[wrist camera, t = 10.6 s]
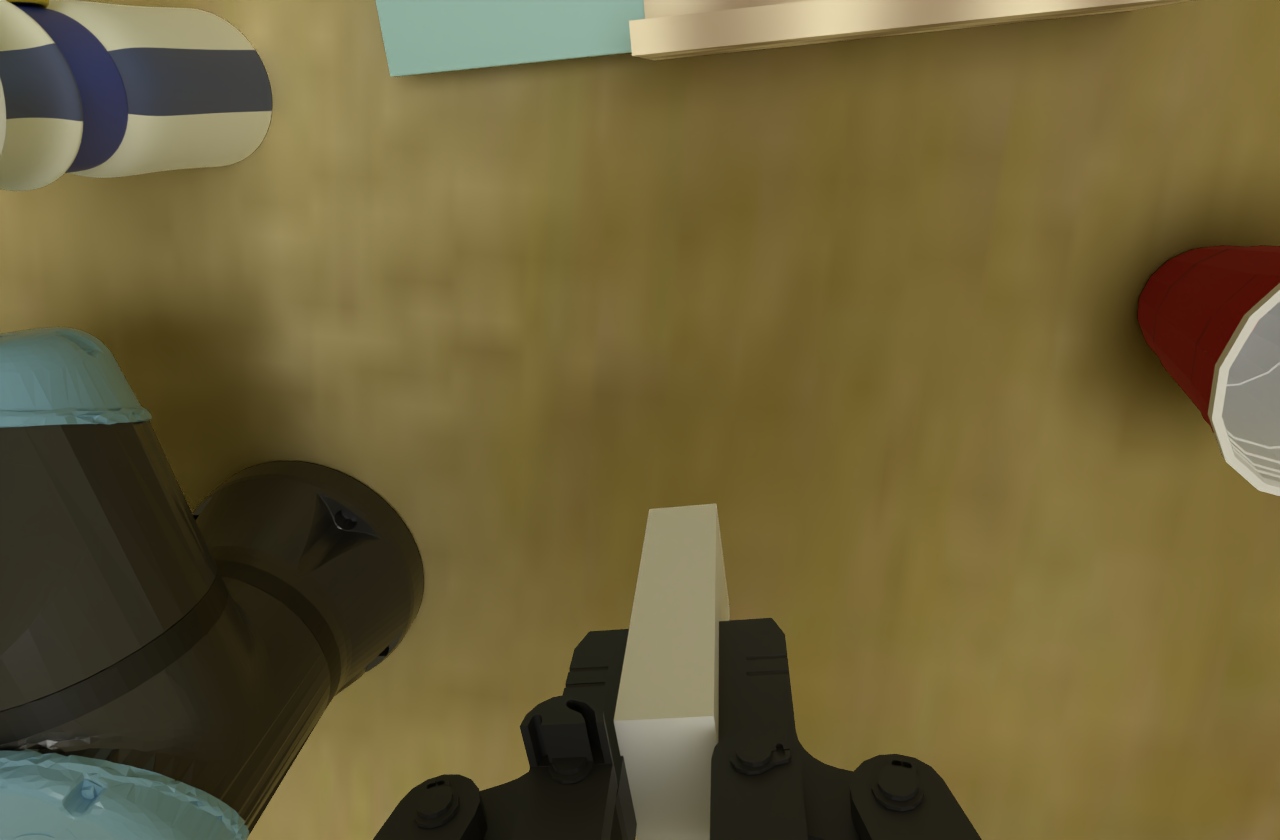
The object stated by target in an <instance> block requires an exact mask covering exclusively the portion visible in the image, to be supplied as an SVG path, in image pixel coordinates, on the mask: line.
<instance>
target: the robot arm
mask: <svg viewBox="0 0 1280 840" xmlns="http://www.w3.org/2000/svg"><path fill="white" fill-rule="evenodd" d="M151 419H152V416H151V414H150V412H149V411H148V409H146V408H143V407H141V405H140V403H139V401H138V400H137V398H136V396H135V394H134V393H133V391H132V389H131V387H130V386H129V384H128V382H127V380H126V378H125V377H124V375H123V373H122V371H121V369H120V367H119V365H118V363H117V362H116V360H115V358H114V356H113V354H112V353H111V351H110V350H109V349H108V348H107V347H106V345H105V344H104V343H103V342H101V341H100V340H99V339H97V338H96V337H94V336H93V335H91V334H89V333H86V332H84V331H81V330H78V329H74V328H69V327H46V328H37V329H29V330H21V331H15V332H8V333H1V334H0V840H247V838H248V836H249V834H250V833H251V831H252V829H253V828H254V826H255V825H256V823H257V821H258V820H259V818H260V816H261V815H262V813H263V811H264V810H265V808H266V806H267V805H268V803H269V801H270V800H271V798H272V796H273V795H274V793H275V792H276V790H277V788H278V787H279V785H280V783H281V782H282V780H283V778H284V777H285V775H286V773H287V772H288V770H289V768H290V767H291V765H292V763H293V762H294V760H295V759H296V757H297V755H298V754H299V752H300V750H301V749H302V747H303V745H304V744H305V742H306V740H307V739H308V737H309V735H310V734H311V732H312V731H313V729H314V727H315V726H316V724H317V722H318V721H319V719H320V717H321V716H322V714H323V712H324V711H325V709H326V708H327V706H328V705H329V703H330V702H331V700H332V698H333V697H334V696H335V695H337V694H338V693H339V692H341V691H342V690H344V689H345V688H346V687H348V686H349V685H350V684H352V683H353V682H354V681H356V680H357V679H358V678H360V677H361V676H362V675H363V674H364V673H365V672H367V671H369V670H370V669H372V668H373V667H375V666H376V665H378V664H379V663H381V662H382V661H383V660H384V659H386V658H387V657H388V656H389V655H390V654H391V653H392V652H393V651H394V650H395V648H396V647H397V646H398V645H399V643H400V642H401V641H402V639H403V638H404V636H405V634H406V632H407V631H408V629H409V627H410V626H411V624H412V622H413V620H414V619H415V617H416V615H417V613H418V610H419V608H420V605H421V601H422V596H423V588H424V576H423V568H422V562H421V558H420V555H419V552H418V549H417V546H416V544H415V542H414V540H413V538H412V536H411V534H410V532H409V530H408V529H407V527H406V526H405V524H404V523H403V521H402V520H401V519H400V517H399V516H398V515H397V514H396V512H395V511H394V510H393V509H392V508H391V507H390V506H389V505H388V504H387V503H386V502H385V501H384V500H383V499H382V498H381V497H379V496H378V495H377V494H376V493H375V492H373V491H372V490H370V489H369V488H368V487H366V486H365V485H363V484H362V483H360V482H358V481H357V480H355V479H353V478H351V477H349V476H347V475H345V474H343V473H340V472H338V471H336V470H333V469H330V468H327V467H324V466H320V465H316V464H311V463H305V462H295V461H278V462H269V463H264V464H260V465H256V466H253V467H250V468H247V469H245V470H243V471H241V472H239V473H237V474H235V475H234V476H232V477H231V478H229V479H228V480H227V481H225V482H224V483H223V484H222V485H220V486H219V487H218V488H217V489H216V490H214V491H213V492H212V493H211V494H209V495H208V496H207V497H206V498H205V499H204V500H203V501H202V502H201V503H200V504H199V506H198V507H197V508H196V509H195V510H194V512H193V513H191V510H190V508H189V506H188V504H187V502H186V500H185V498H184V496H183V493H182V491H181V489H180V487H179V485H178V482H177V480H176V478H175V476H174V474H173V471H172V469H171V467H170V465H169V463H168V461H167V458H166V456H165V454H164V452H163V450H162V447H161V445H160V443H159V441H158V439H157V437H156V434H155V432H154V430H153V428H152V426H151V423H150V421H149V420H151ZM520 729H521V733H522V737H523V741H524V745H525V749H526V753H527V757H528V761H529V765H530V770H529V772H528V773H526V774H525V775H523V776H521V777H520V778H518V779H515V780H513V781H510V782H508V783H505V784H502V785H499V786H495V787H492V788H489V789H486V790H483V791H479V788H478V787H477V786H476V785H475V783H474V782H473V781H472V780H471V779H469V778H466V777H464V776H461V775H441V776H438V777H435V778H431V779H428V780H426V781H425V782H423V783H421V784H420V785H418V786H416V787H415V788H413V789H412V790H411V791H410V792H409V793H408V794H407V795H406V796H405V797H404V798H403V799H402V800H401V801H400V803H399V804H398V805H397V807H396V808H395V810H394V811H393V812H392V814H391V815H390V816H389V818H388V819H387V821H386V822H385V823H384V825H383V826H382V828H381V829H380V830H379V832H378V833H377V835H376V836H375V837H374V839H373V840H635V836H637V840H982V839H981V838H980V836H979V835H978V833H977V832H976V830H975V829H974V827H973V825H972V824H971V822H970V821H969V819H968V818H967V816H966V815H965V813H964V811H963V810H962V808H961V807H960V805H959V804H958V802H957V801H956V799H955V797H954V796H953V794H952V793H951V791H950V790H949V788H948V786H947V785H946V783H945V782H944V780H943V779H942V778H941V777H940V776H939V775H938V774H937V773H936V771H935V770H934V769H933V768H932V767H931V766H929V765H927V764H925V763H923V762H921V761H919V760H918V759H916V758H913V757H908V756H903V755H899V754H889V755H878V756H876V757H873V758H871V759H868V760H866V761H864V762H863V763H862V764H861V765H860V766H859V767H858V768H857V769H856V770H855V771H854V772H853V771H848V770H844V769H839V768H836V767H833V766H830V765H827V764H824V763H822V762H820V761H819V760H817V759H815V758H813V757H812V756H811V755H810V754H809V753H808V752H807V751H805V750H804V748H803V747H802V745H801V744H800V742H799V741H798V737H797V734H796V730H795V721H794V712H793V703H792V694H791V685H790V676H789V668H788V659H787V650H786V641H785V634H784V633H783V632H782V630H781V629H780V628H779V627H778V625H777V624H776V623H775V621H774V620H773V619H772V618H763V619H748V620H732V621H730V617H729V600H728V592H727V584H726V576H725V568H724V560H723V552H722V544H721V536H720V528H719V520H718V512H717V504H704V505H692V506H680V507H669V508H657V509H649V514H648V520H647V526H646V532H645V538H644V544H643V550H642V556H641V562H640V568H639V573H638V579H637V585H636V591H635V597H634V603H633V609H632V615H631V621H630V627H629V629H621V630H606V631H590V632H589V633H588V634H587V635H586V636H585V637H584V639H583V640H582V641H581V642H580V643H579V645H578V646H577V647H576V648H575V650H574V653H573V657H572V661H571V665H570V672H569V673H568V677H567V680H566V688H564V692H563V696H558V697H553V698H551V699H549V700H546V701H544V702H542V703H540V704H538V705H537V706H536V707H535V708H533V709H532V710H531V711H530V712H529V713H528V714H527V715H526V716H525V718H524V720H523V722H522V723H521V725H520Z"/></svg>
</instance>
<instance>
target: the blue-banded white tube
mask: <svg viewBox="0 0 1280 840" xmlns="http://www.w3.org/2000/svg"><path fill="white" fill-rule="evenodd" d="M271 115H272V93H271V87H270V83H269V79H268V76H267V73H266V70H265V67H264V65H263V63H262V61H261V59H260V57H259V55H258V54H257V52H256V50H255V49H254V48H253V46H252V45H251V43H250V42H249V41H248V40H247V39H246V37H245V36H244V35H243V34H242V33H241V32H240V31H239V30H237V29H236V28H235V27H234V26H233V25H231V24H230V23H229V22H227V21H226V20H224V19H222V18H220V17H219V16H217V15H214V14H212V13H210V12H207V11H203V10H199V9H193V8H171V7H145V6H129V5H118V4H108V3H98V2H88V1H75V0H0V189H3V190H10V191H27V190H34V189H38V188H42V187H44V186H47V185H49V184H51V183H53V182H54V181H56V180H57V179H59V178H60V177H61V176H62V175H63V174H64V173H70V174H74V175H79V176H85V177H92V178H114V177H124V176H133V175H139V174H146V173H153V172H160V171H168V170H178V169H189V168H204V167H220V166H227V165H232V164H235V163H237V162H240V161H242V160H244V159H245V158H247V157H248V156H250V155H251V154H252V153H253V152H254V151H255V150H256V149H257V148H258V147H259V145H260V144H261V142H262V141H263V139H264V137H265V135H266V133H267V131H268V128H269V125H270V121H271Z"/></svg>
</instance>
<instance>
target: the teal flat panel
mask: <svg viewBox="0 0 1280 840" xmlns="http://www.w3.org/2000/svg"><path fill="white" fill-rule="evenodd" d="M376 5H377V10H378V15H379V20H380V25H381V31H382V36H383V41H384V46H385V51H386V57H387V62H388V67H389V72H390V77H401V76H411V75H421V74H430V73H440V72H450V71H459V70H469V69H479V68H489V67H498V66H508V65H518V64H527V63H537V62H547V61H557V60H566V59H576V58H586V57H596V56H605V55H615V54H625V53H632V51H631V39H630V28H629V21H631V20H640V19H645V13H644V1H643V0H376Z"/></svg>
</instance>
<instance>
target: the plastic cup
mask: <svg viewBox="0 0 1280 840" xmlns="http://www.w3.org/2000/svg"><path fill="white" fill-rule="evenodd" d="M1137 319H1138V322H1139V325H1140V327H1141V330H1142V333H1143V335H1144V338H1145V341H1146V343H1147V344H1148V345H1149V346H1150V348H1151V349H1152V350H1153V351H1154V352H1155V354H1156V355H1157V356H1158V357H1159V358H1160V361H1161V364H1162V365H1163V367H1164V368H1165V369H1166V370H1167V371H1168V373H1169V374H1170V375H1171V376H1172V377H1173V379H1174V380H1175V381H1176V382H1177V384H1178V385H1179V386H1180V387H1181V388H1182V390H1183V391H1184V392H1185V393H1186V394H1187V396H1188V397H1189V398H1190V399H1191V400H1192V402H1193V403H1194V404H1195V405H1196V406H1197V408H1198V409H1199V410H1200V411H1201V413H1202V416H1203V418H1204V419H1205V420H1206V421H1207V423H1208V424H1209V425H1210V426H1211V428H1212V431H1213V432H1214V434H1215V437H1216V440H1217V443H1218V446H1219V449H1220V452H1221V455H1222V456H1223V458H1224V459H1225V461H1226V462H1227V463H1228V464H1229V465H1230V466H1232V467H1233V468H1234V469H1235V470H1236V471H1237V472H1238V473H1239V474H1241V475H1242V476H1243V477H1244V478H1245V479H1246V480H1247V481H1248V482H1250V483H1251V484H1252V485H1253V486H1254V487H1255V488H1256V489H1258V490H1259V491H1262V492H1266V493H1270V494H1274V495H1277V496H1280V246H1250V247H1240V246H1214V247H1204V248H1197V249H1191V250H1189V251H1187V252H1185V253H1183V254H1180V255H1178V256H1176V257H1174V258H1172V259H1170V260H1168V261H1167V262H1166V263H1165V264H1164V265H1162V266H1161V267H1160V268H1159V269H1158V270H1157V271H1156V272H1155V273H1154V274H1153V275H1152V276H1151V277H1150V278H1149V280H1148V282H1147V284H1146V286H1145V287H1144V289H1143V291H1142V293H1141V295H1140V297H1139V305H1138V314H1137Z"/></svg>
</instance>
